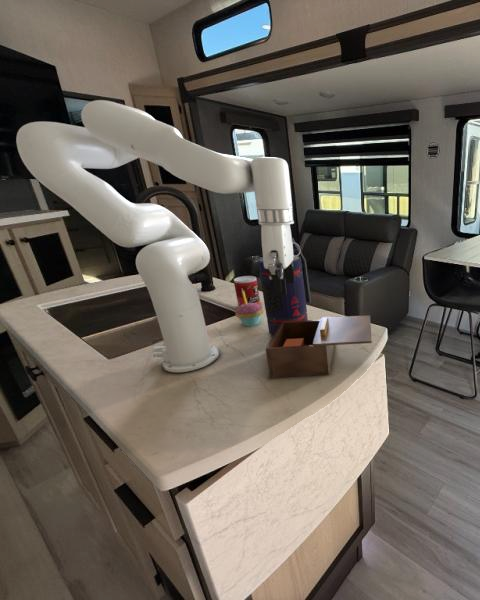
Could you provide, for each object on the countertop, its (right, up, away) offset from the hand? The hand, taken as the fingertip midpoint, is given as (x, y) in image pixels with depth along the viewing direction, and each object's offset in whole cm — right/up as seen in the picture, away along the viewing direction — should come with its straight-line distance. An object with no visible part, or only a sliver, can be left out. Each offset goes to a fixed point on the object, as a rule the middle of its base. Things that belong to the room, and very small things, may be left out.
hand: (284, 288), depth 78 cm
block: (0, -18, +7) cm, 19 cm away
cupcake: (-22, -11, +29) cm, 38 cm away
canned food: (-30, -5, +45) cm, 54 cm away
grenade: (-6, -13, +24) cm, 28 cm away
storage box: (+3, -19, +7) cm, 20 cm away
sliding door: (+14, -11, +6) cm, 18 cm away
